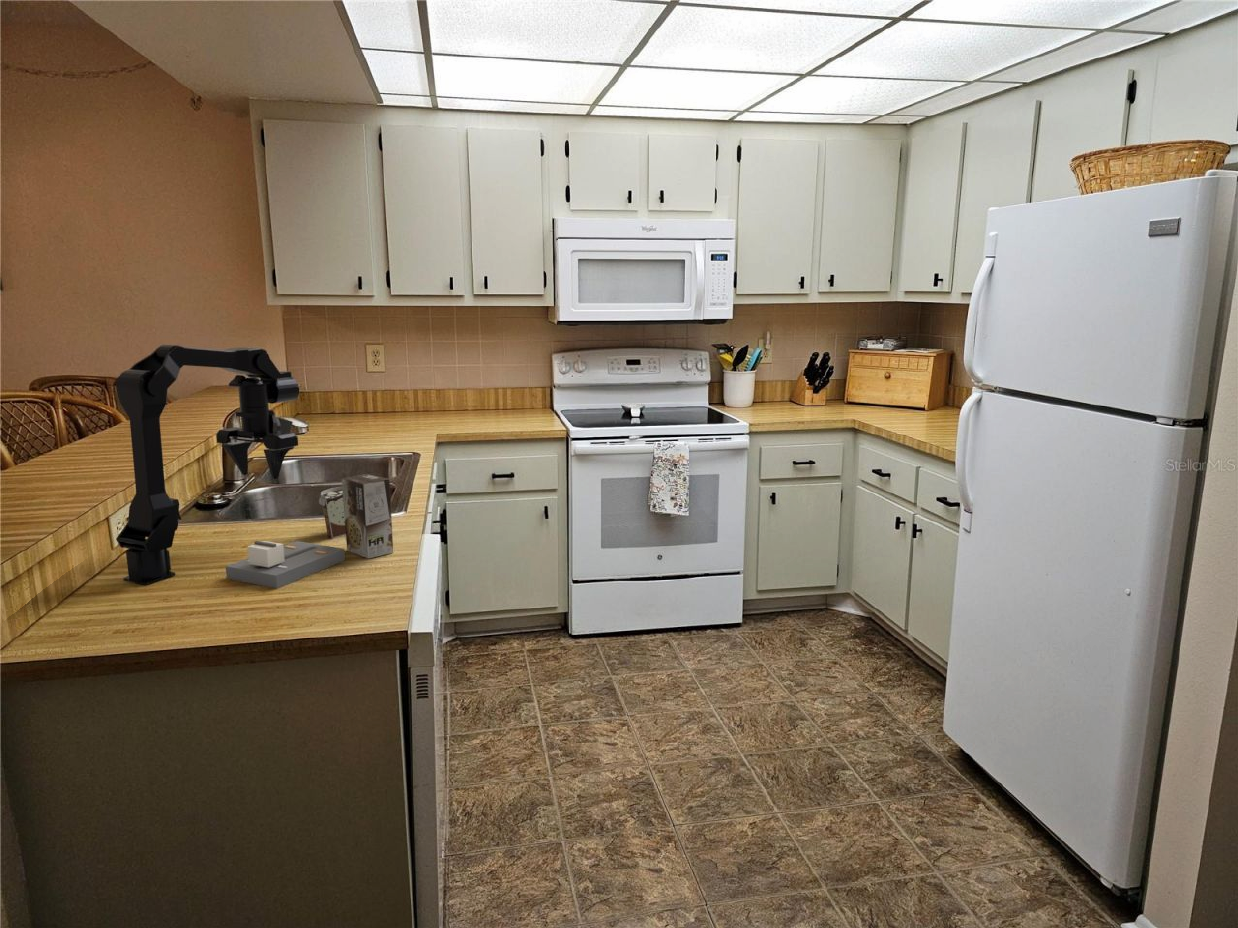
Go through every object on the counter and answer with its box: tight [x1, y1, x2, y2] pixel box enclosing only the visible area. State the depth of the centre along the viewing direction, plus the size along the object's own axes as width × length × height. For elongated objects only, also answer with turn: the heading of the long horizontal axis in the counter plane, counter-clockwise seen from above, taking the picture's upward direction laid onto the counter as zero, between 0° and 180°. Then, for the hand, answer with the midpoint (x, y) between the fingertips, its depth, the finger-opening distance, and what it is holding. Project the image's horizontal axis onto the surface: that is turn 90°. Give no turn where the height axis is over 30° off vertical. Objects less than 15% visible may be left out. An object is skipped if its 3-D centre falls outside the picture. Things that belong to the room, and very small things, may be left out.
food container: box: [318, 486, 346, 540], centre depth 187 cm, size 12×6×10 cm, turn 144°
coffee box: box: [341, 473, 394, 559], centre depth 172 cm, size 9×6×16 cm
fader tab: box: [247, 540, 285, 567], centre depth 156 cm, size 4×5×4 cm
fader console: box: [225, 540, 346, 589], centre depth 161 cm, size 18×13×3 cm
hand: (260, 476), depth 178 cm, fingers open, 9 cm apart
